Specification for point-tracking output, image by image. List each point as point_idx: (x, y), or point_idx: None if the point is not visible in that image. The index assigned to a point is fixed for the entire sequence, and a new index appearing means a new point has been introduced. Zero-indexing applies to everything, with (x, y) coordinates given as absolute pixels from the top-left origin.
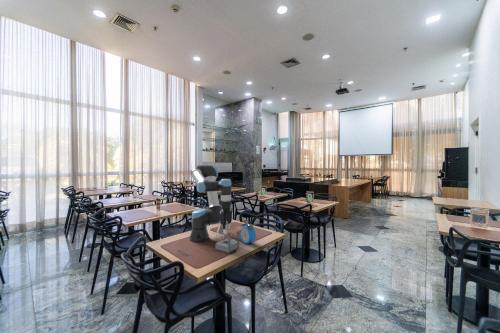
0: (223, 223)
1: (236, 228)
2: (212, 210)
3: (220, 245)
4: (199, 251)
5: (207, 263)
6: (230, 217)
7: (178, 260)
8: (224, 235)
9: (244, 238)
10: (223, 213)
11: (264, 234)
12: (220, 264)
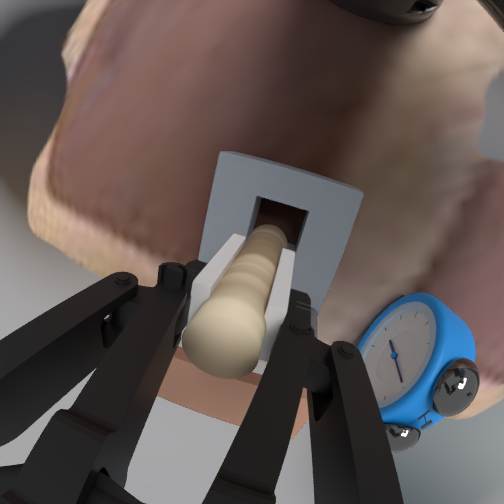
0: (112, 329)
1: (242, 402)
2: None
3: (209, 204)
4: (167, 75)
5: (80, 206)
6: (314, 444)
7: (67, 69)
8: (248, 238)
9: (393, 330)
10: (74, 457)
11: (499, 363)
12: (96, 265)
